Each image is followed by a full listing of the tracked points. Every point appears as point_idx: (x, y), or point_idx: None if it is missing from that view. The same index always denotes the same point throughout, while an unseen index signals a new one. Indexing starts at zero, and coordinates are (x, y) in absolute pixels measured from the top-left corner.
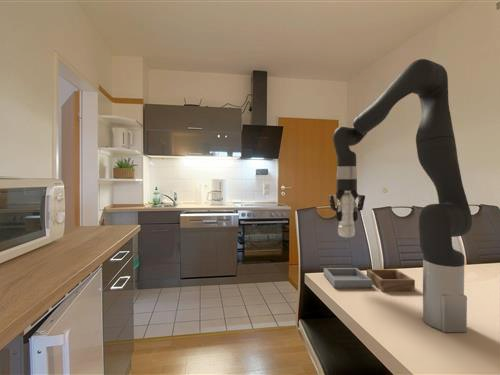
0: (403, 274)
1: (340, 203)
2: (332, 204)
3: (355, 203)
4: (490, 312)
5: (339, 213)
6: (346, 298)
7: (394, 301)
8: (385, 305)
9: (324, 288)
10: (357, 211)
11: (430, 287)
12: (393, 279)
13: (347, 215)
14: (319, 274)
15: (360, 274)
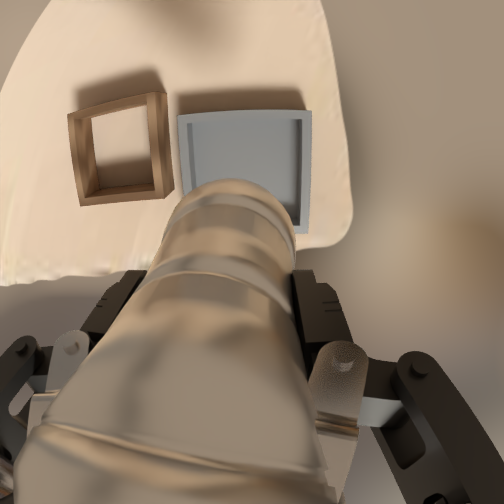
0: (75, 159)
1: (348, 469)
2: (469, 417)
3: (34, 421)
4: (25, 45)
5: (324, 327)
6: (293, 42)
7: (163, 34)
8: (200, 10)
9: (337, 113)
10: (69, 332)
11: None
12: (116, 105)
13: (221, 265)
14: (315, 231)
15: (192, 183)
